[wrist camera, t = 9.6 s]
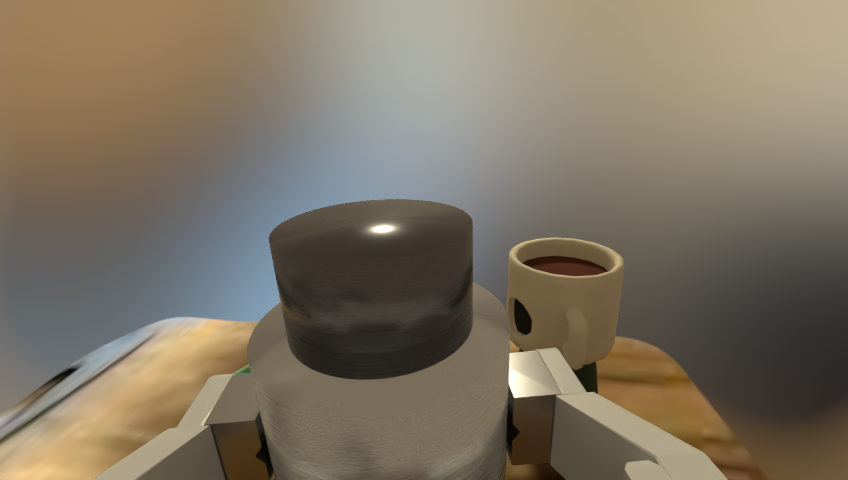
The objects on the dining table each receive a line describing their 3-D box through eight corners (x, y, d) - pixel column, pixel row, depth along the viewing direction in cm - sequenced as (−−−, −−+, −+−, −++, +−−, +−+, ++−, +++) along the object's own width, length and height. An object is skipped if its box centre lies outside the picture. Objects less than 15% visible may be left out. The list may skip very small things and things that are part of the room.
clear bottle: (295, 756, 9) (154, 297, 5) (330, 523, 13) (272, 199, 10) (525, 727, 9) (560, 269, 5) (480, 508, 14) (481, 186, 10)
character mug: (500, 365, 36) (504, 228, 32) (583, 369, 35) (599, 228, 31) (508, 472, 26) (515, 293, 22) (624, 482, 25) (657, 296, 21)
